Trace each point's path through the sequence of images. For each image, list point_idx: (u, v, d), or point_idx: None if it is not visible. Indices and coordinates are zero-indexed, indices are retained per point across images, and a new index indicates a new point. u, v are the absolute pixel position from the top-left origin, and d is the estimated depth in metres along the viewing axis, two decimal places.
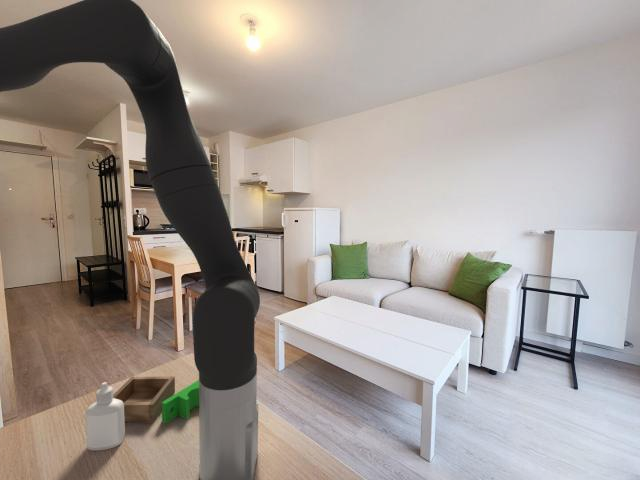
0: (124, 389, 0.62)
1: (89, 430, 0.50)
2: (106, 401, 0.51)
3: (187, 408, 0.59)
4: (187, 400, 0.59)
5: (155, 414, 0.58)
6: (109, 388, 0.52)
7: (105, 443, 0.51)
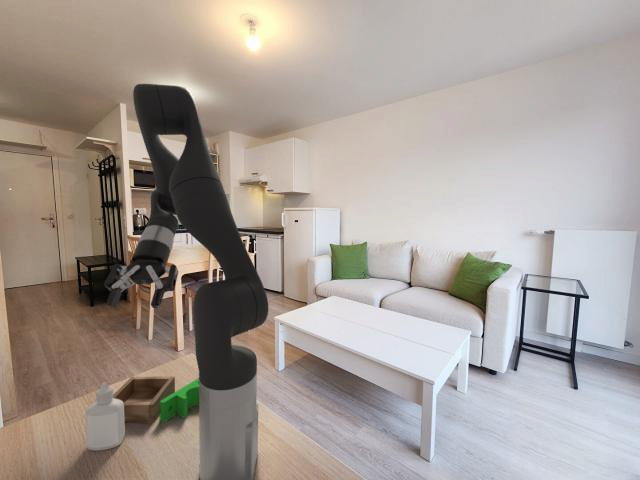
0: (124, 389, 0.62)
1: (89, 430, 0.50)
2: (106, 401, 0.51)
3: (185, 407, 0.59)
4: (185, 399, 0.59)
5: (155, 414, 0.58)
6: (109, 388, 0.52)
7: (105, 443, 0.51)
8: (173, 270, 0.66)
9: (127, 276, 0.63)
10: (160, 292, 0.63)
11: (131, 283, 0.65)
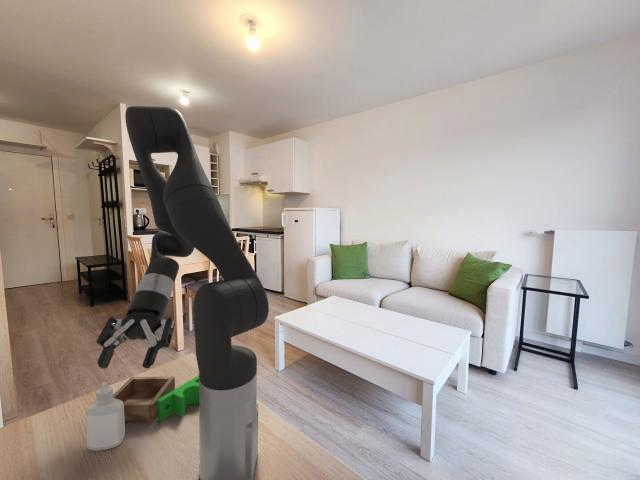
0: (124, 389, 0.62)
1: (89, 430, 0.50)
2: (106, 401, 0.51)
3: (182, 406, 0.60)
4: (182, 398, 0.60)
5: (155, 414, 0.58)
6: (109, 388, 0.52)
7: (105, 443, 0.51)
8: (169, 324, 0.62)
9: (120, 332, 0.60)
10: (153, 350, 0.59)
11: (125, 338, 0.62)
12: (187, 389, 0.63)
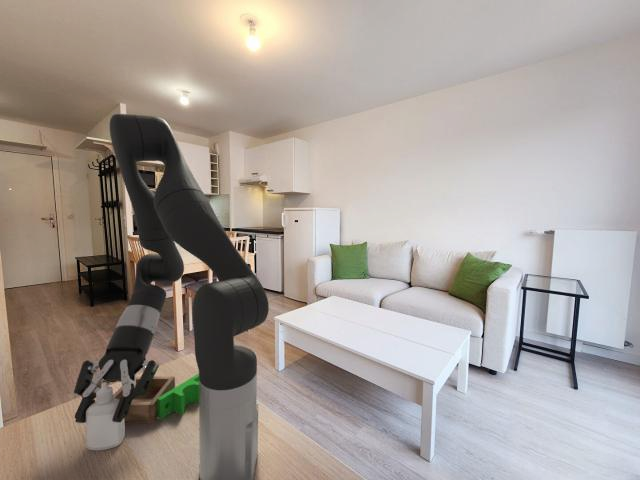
0: None
1: (89, 430, 0.50)
2: (106, 401, 0.51)
3: (182, 404, 0.60)
4: (182, 396, 0.60)
5: (155, 414, 0.58)
6: (109, 388, 0.52)
7: (105, 443, 0.51)
8: (149, 369, 0.55)
9: (100, 376, 0.53)
10: (126, 401, 0.52)
11: (106, 382, 0.55)
12: (186, 388, 0.63)
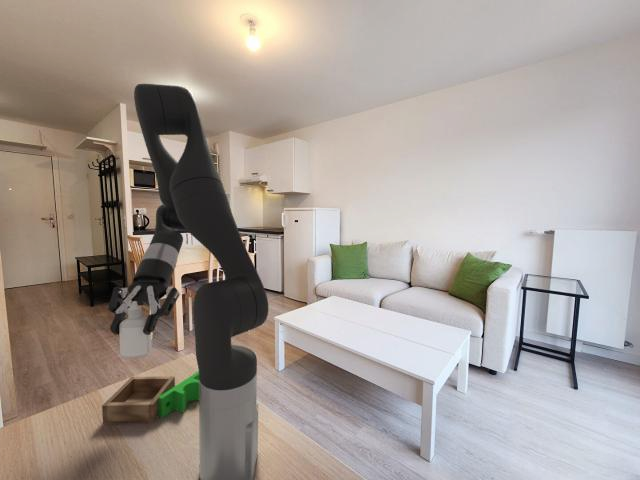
0: (124, 389, 0.62)
1: (122, 340, 0.58)
2: (136, 316, 0.59)
3: (183, 402, 0.61)
4: (183, 394, 0.61)
5: (155, 414, 0.58)
6: (139, 306, 0.59)
7: (136, 352, 0.59)
8: (172, 294, 0.63)
9: (130, 298, 0.61)
10: (153, 318, 0.60)
11: None
12: (187, 386, 0.64)
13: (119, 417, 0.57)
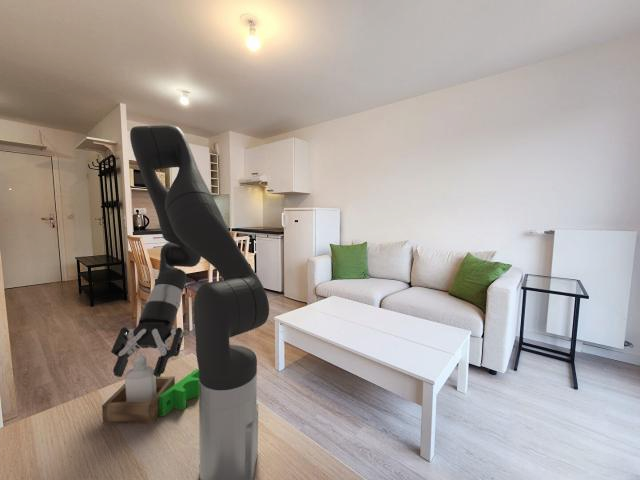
0: (124, 389, 0.62)
1: (128, 391, 0.60)
2: (142, 367, 0.61)
3: (184, 399, 0.62)
4: (184, 392, 0.62)
5: (155, 414, 0.58)
6: (143, 357, 0.61)
7: None
8: (178, 334, 0.65)
9: (134, 341, 0.63)
10: (163, 359, 0.62)
11: (138, 347, 0.65)
12: (186, 384, 0.65)
13: (119, 417, 0.57)
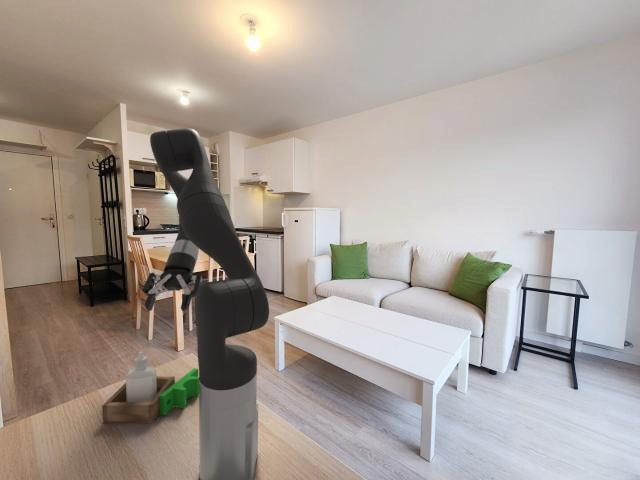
0: (124, 389, 0.62)
1: (129, 390, 0.60)
2: (143, 367, 0.61)
3: (184, 398, 0.62)
4: (184, 390, 0.62)
5: (155, 414, 0.58)
6: (144, 356, 0.62)
7: None
8: (199, 279, 0.77)
9: (161, 283, 0.75)
10: (188, 297, 0.74)
11: (163, 289, 0.77)
12: (185, 383, 0.65)
13: (119, 417, 0.57)
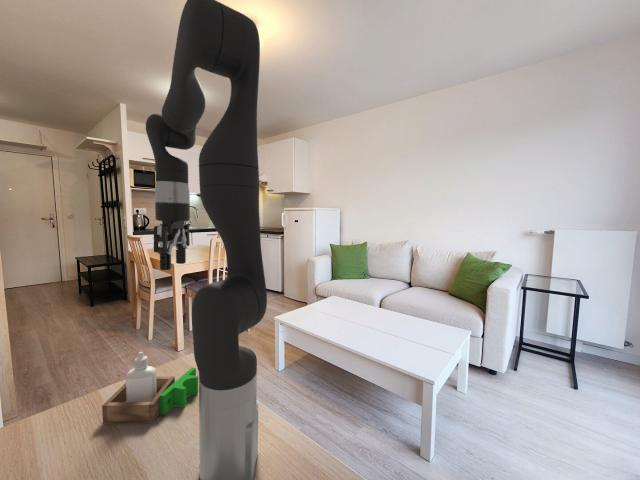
0: (124, 389, 0.62)
1: (129, 390, 0.60)
2: (143, 367, 0.61)
3: (184, 397, 0.63)
4: (184, 389, 0.62)
5: (155, 414, 0.58)
6: (144, 356, 0.62)
7: None
8: (188, 230, 0.75)
9: (175, 241, 0.67)
10: None
11: None
12: (184, 382, 0.65)
13: (119, 417, 0.57)
